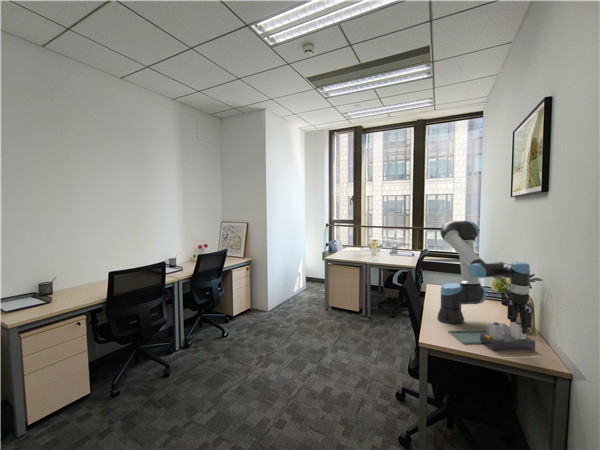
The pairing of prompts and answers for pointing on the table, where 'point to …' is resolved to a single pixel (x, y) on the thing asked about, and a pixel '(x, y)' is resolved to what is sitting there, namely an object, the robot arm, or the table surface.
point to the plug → (515, 330)
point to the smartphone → (506, 328)
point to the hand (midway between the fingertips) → (518, 336)
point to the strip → (507, 343)
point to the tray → (468, 336)
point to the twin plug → (496, 331)
